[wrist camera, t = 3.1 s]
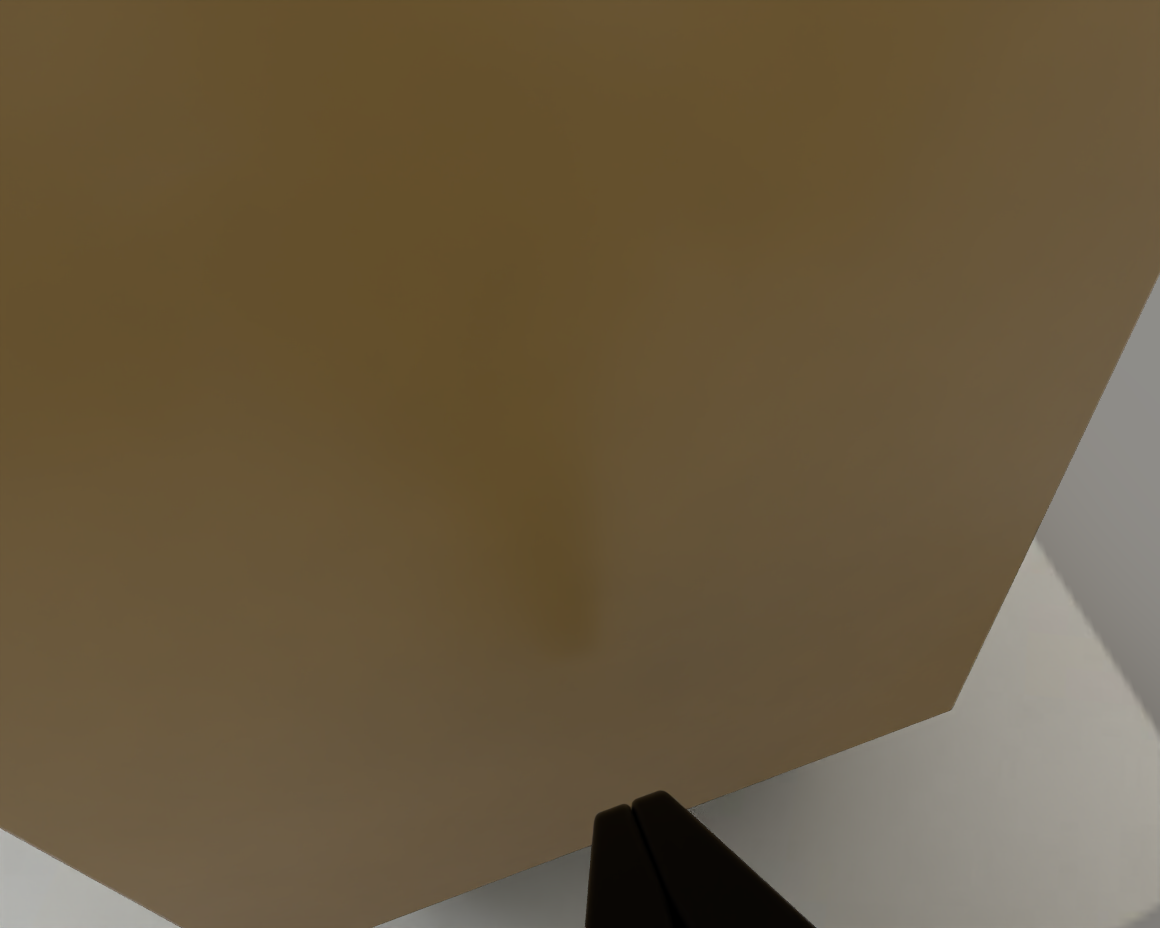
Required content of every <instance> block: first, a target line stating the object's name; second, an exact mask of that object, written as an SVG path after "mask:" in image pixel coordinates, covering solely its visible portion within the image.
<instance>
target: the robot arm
mask: <svg viewBox="0 0 1160 928" xmlns="http://www.w3.org/2000/svg"><path fill="white" fill-rule="evenodd" d="M631 808H632V809H631ZM585 928H816V927H815V926H814V925H813V924H812V923H811V922H809V921H808V920H807V919H806V918H805V917H804V916H803V915H802V914H801V913H800V912H798V911H797V910H796V909H795V908H794V907H793V906H792V905H791V904H790V903H789V902H788V901H786V900H785V899H784V898H783V897H782V896H781V895H780V894H779V893H778V892H777V891H775V890H774V889H773V888H772V887H771V886H770V885H769V884H768V883H767V882H766V881H764V880H763V879H762V878H761V877H760V876H759V875H758V874H757V873H756V872H755V871H754V870H752V869H751V868H750V867H749V866H748V865H747V864H746V863H745V862H744V861H743V860H741V859H740V858H739V857H738V856H737V855H736V854H735V853H734V852H733V851H732V850H730V849H729V848H728V847H727V846H726V845H725V844H724V843H723V842H722V841H721V840H719V839H718V838H717V837H716V836H715V835H714V834H713V833H712V832H711V831H710V830H709V829H707V828H706V827H705V826H704V825H703V824H702V823H701V822H700V821H699V820H698V819H696V818H695V817H694V816H693V815H692V814H691V813H690V812H689V811H688V810H687V809H685V808H684V807H683V806H682V805H681V804H680V803H679V802H678V801H677V800H676V799H675V798H673V797H672V796H671V795H670V794H669V793H667V792H666V791H663V790H659V791H656V792H653V793H650V794H648V795H645V796H642V797H640V798H637V799H635V800H634V801H633V802H632V804H631V807H630V806H629V805H628V804H621V805H618V806H615V807H613V808H610V809H607V810H605V811H602V812H599V813H598V814H597V815H596V816H595V819H594V824H593V836H592V848H591V860H590V872H589V884H588V896H587V908H586V920H585Z"/></svg>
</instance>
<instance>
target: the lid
mask: <svg viewBox="0 0 1160 928" xmlns="http://www.w3.org/2000/svg"><path fill="white" fill-rule="evenodd" d="M1159 275H1160V0H0V828H1V829H2V830H4V831H6V832H8V833H10V834H12V835H13V836H15V837H17V838H19V839H21V840H22V841H24V842H26V843H28V844H30V845H32V846H33V847H35V848H37V849H39V850H41V851H43V852H44V853H46V854H48V855H50V856H52V857H53V858H55V859H57V860H59V861H61V862H63V863H64V864H66V865H68V866H70V867H72V868H73V869H75V870H77V871H79V872H81V873H83V874H84V875H86V876H88V877H90V878H92V879H94V880H95V881H97V882H99V883H101V884H103V885H104V886H106V887H108V888H110V889H112V890H114V891H115V892H117V893H119V894H121V895H123V896H124V897H126V898H128V899H130V900H132V901H134V902H135V903H137V904H139V905H141V906H143V907H145V908H146V909H148V910H150V911H152V912H154V913H155V914H157V915H159V916H161V917H163V918H165V919H166V920H168V921H170V922H172V923H174V924H175V925H177V926H179V927H181V928H372V927H375V926H377V925H380V924H383V923H385V922H388V921H391V920H393V919H396V918H399V917H401V916H404V915H407V914H409V913H412V912H415V911H417V910H420V909H423V908H425V907H428V906H431V905H433V904H436V903H439V902H441V901H444V900H447V899H449V898H452V897H455V896H457V895H460V894H463V893H465V892H468V891H471V890H473V889H476V888H479V887H481V886H484V885H487V884H489V883H492V882H495V881H497V880H500V879H503V878H505V877H508V876H511V875H513V874H516V873H519V872H521V871H524V870H527V869H529V868H532V867H535V866H537V865H540V864H543V863H545V862H548V861H551V860H553V859H556V858H559V857H561V856H564V855H567V854H569V853H572V852H575V851H577V850H580V849H582V848H585V847H588V846H590V845H592V836H593V824H594V819H595V816H596V815H597V814H598V813H599V812H602V811H605V810H607V809H610V808H613V807H615V806H618V805H621V804H628V805H629V806H630V807H631V804H632V802H633V801H634V800H635V799H637V798H640V797H642V796H645V795H648V794H650V793H653V792H656V791H659V790H663V791H666V792H667V793H669V794H670V795H671V796H672V797H673V798H675V799H676V800H677V801H678V802H679V803H680V804H681V805H682V806H683V807H684V808H685V809H689V808H692V807H694V806H697V805H700V804H702V803H705V802H708V801H710V800H713V799H716V798H718V797H721V796H724V795H726V794H729V793H732V792H734V791H737V790H740V789H742V788H745V787H748V786H750V785H753V784H756V783H758V782H761V781H764V780H766V779H769V778H772V777H774V776H777V775H780V774H782V773H785V772H788V771H790V770H793V769H796V768H798V767H801V766H804V765H806V764H809V763H812V762H814V761H817V760H820V759H822V758H825V757H828V756H830V755H833V754H836V753H838V752H841V751H844V750H846V749H849V748H852V747H854V746H857V745H860V744H862V743H865V742H868V741H870V740H873V739H876V738H878V737H881V736H884V735H886V734H889V733H892V732H894V731H897V730H900V729H902V728H905V727H908V726H910V725H913V724H916V723H918V722H921V721H924V720H926V719H929V718H932V717H934V716H937V715H940V714H942V713H945V712H948V711H950V710H951V709H952V708H953V706H954V704H955V702H956V700H957V698H958V696H959V694H960V692H961V690H962V688H963V685H964V683H965V681H966V679H967V677H968V675H969V673H970V671H971V669H972V667H973V664H974V662H975V660H976V658H977V656H978V654H979V652H980V650H981V648H982V646H983V644H984V641H985V639H986V637H987V635H988V633H989V631H990V629H991V627H992V625H993V623H994V620H995V618H996V616H997V614H998V612H999V610H1000V608H1001V606H1002V604H1003V602H1004V599H1005V597H1006V595H1007V593H1008V591H1009V589H1010V587H1011V585H1012V583H1013V581H1014V579H1015V576H1016V574H1017V572H1018V570H1019V568H1020V566H1021V564H1022V562H1023V560H1024V558H1025V555H1026V553H1027V551H1028V549H1029V547H1030V545H1031V543H1032V541H1033V539H1034V537H1035V535H1036V532H1037V530H1038V528H1039V526H1040V524H1041V522H1042V520H1043V518H1044V516H1045V514H1046V511H1047V509H1048V507H1049V505H1050V503H1051V501H1052V499H1053V497H1054V495H1055V493H1056V490H1057V488H1058V486H1059V484H1060V482H1061V480H1062V478H1063V476H1064V474H1065V471H1066V470H1067V467H1068V465H1069V463H1070V461H1071V459H1072V457H1073V455H1074V453H1075V451H1076V449H1077V447H1078V444H1079V442H1080V440H1081V438H1082V436H1083V434H1084V432H1085V430H1086V428H1087V426H1088V423H1089V421H1090V419H1091V417H1092V415H1093V413H1094V411H1095V409H1096V407H1097V405H1098V402H1099V400H1100V398H1101V396H1102V394H1103V392H1104V390H1105V388H1106V385H1107V384H1108V381H1109V379H1110V377H1111V375H1112V373H1113V371H1114V369H1115V367H1116V365H1117V363H1118V361H1119V358H1120V356H1121V354H1122V352H1123V350H1124V348H1125V346H1126V344H1127V342H1128V339H1129V338H1130V335H1131V333H1132V331H1133V329H1134V327H1135V325H1136V323H1137V321H1138V319H1139V317H1140V314H1141V312H1142V310H1143V308H1144V306H1145V304H1146V302H1147V299H1148V298H1149V295H1150V293H1151V291H1152V289H1153V287H1154V285H1155V283H1156V281H1157V279H1158V276H1159ZM631 809H632V808H631Z"/></svg>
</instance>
